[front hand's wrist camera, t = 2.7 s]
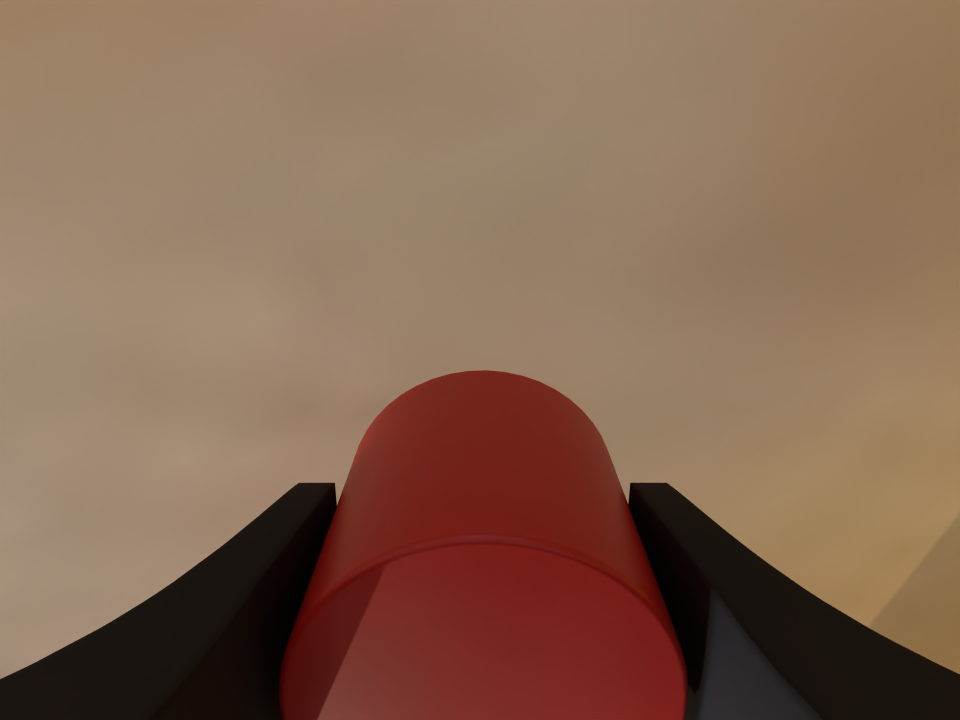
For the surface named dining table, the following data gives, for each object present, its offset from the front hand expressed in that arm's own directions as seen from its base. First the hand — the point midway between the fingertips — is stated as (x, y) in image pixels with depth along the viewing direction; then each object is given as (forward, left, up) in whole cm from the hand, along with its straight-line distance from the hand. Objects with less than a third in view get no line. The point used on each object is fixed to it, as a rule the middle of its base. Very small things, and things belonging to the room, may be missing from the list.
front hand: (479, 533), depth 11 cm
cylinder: (0, 0, -1) cm, 1 cm away
